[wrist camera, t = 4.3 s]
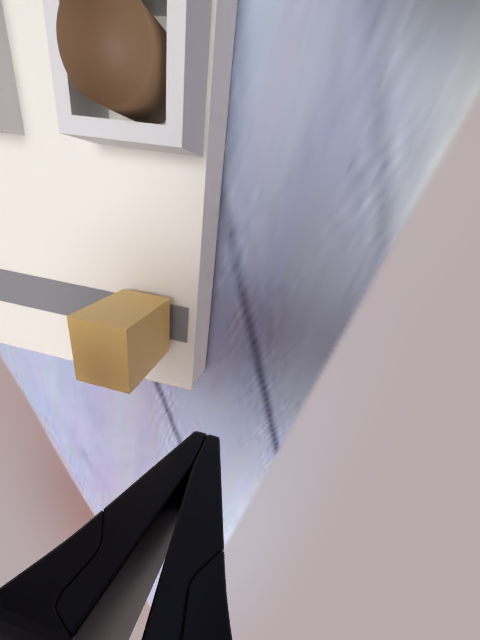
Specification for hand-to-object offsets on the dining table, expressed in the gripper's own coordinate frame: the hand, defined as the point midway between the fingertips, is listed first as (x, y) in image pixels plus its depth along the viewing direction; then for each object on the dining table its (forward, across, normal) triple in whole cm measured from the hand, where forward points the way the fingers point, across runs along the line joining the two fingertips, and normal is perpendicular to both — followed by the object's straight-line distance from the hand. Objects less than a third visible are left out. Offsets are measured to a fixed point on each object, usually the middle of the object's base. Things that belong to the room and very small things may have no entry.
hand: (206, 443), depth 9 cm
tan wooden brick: (+8, +6, 0) cm, 10 cm away
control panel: (+11, +12, -6) cm, 17 cm away
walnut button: (+8, +7, -12) cm, 16 cm away
